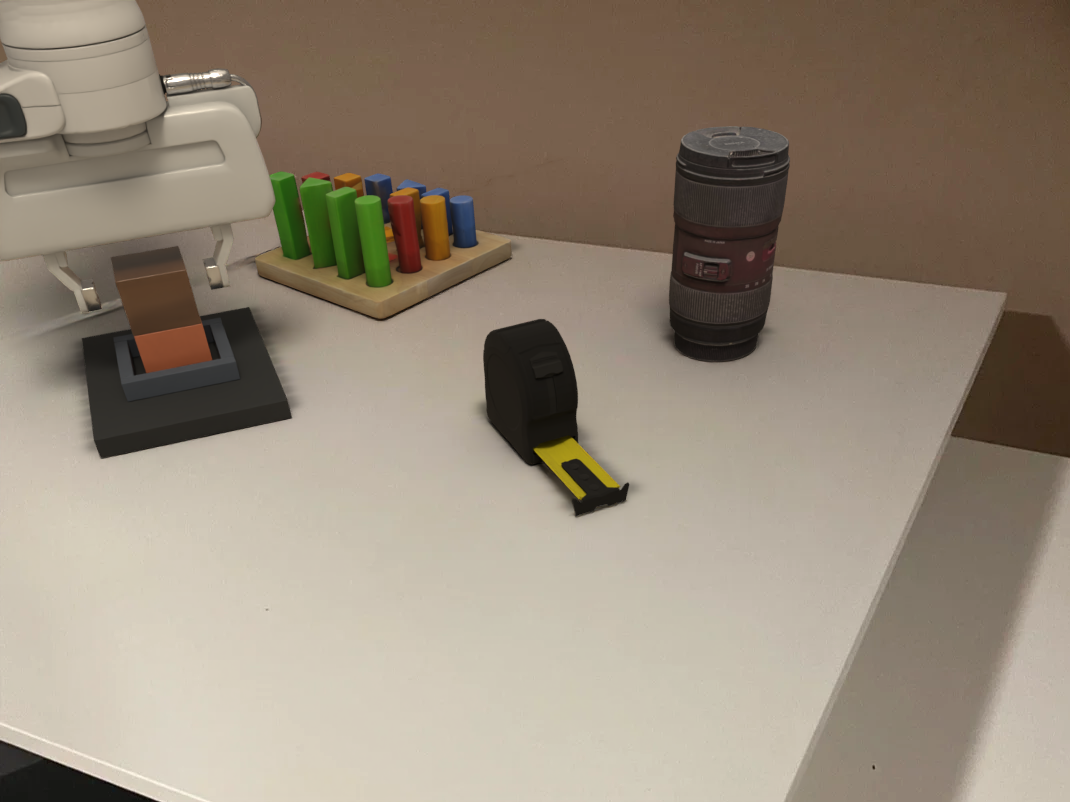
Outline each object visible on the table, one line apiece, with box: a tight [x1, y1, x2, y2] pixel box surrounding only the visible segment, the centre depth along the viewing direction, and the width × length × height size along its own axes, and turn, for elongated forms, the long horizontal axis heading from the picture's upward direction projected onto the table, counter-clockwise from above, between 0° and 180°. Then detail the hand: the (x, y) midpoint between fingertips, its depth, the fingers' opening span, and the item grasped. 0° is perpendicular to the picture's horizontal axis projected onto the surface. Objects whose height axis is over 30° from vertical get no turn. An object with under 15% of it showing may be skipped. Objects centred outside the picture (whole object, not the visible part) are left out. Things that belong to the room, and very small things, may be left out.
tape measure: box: [482, 318, 630, 517], centre depth 68 cm, size 15×4×8 cm, turn 25°
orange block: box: [134, 314, 212, 373], centre depth 78 cm, size 5×5×4 cm
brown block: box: [110, 245, 201, 336], centre depth 75 cm, size 5×5×4 cm
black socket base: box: [81, 306, 292, 459], centre depth 80 cm, size 18×14×3 cm
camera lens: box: [668, 125, 791, 363], centre depth 77 cm, size 8×8×15 cm
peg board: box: [254, 170, 513, 320], centre depth 93 cm, size 18×17×9 cm
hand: (156, 297), depth 76 cm, fingers open, 8 cm apart
